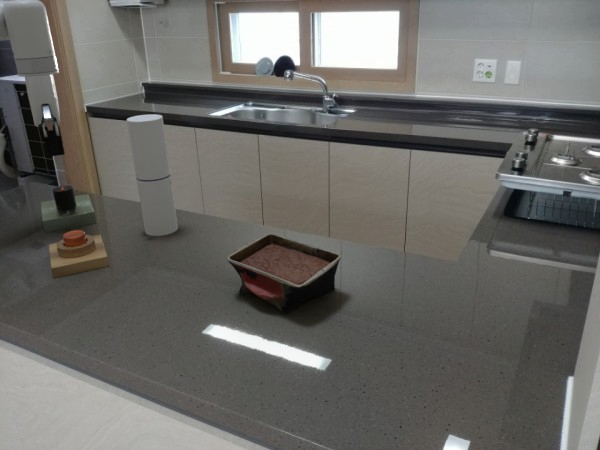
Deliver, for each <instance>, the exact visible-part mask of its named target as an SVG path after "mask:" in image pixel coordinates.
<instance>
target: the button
mask: <svg viewBox="0 0 600 450" xmlns="http://www.w3.org/2000/svg"><path fill="white" fill-rule="evenodd" d="M85 235H86V232H85V231H84V230H81V229H80V230H79V229H76V230H71V231H68V232H65V233H64V234H63V235H62V239H63V240H64V244H65V246H66V247H75V246H80V245H82V244H85V243H86V237H85Z"/></svg>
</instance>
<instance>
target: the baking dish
mask: <svg viewBox="0 0 600 450" xmlns="http://www.w3.org/2000/svg"><path fill="white" fill-rule="evenodd" d="M341 258H342V254H341V253H339V252H336V251H332V250H328V249H325V248H322V247H318V246H316V245H313V244H310V243H307V242H304V241H303V242H302V241H300V240H296V239H292V238H289V237H285V236H282V235H280V234H276V233H266V234H264V235H261V236H259V237H257V238H254V239H253V240H251V241H249V242H247V243H246V244H244V245H242V246H241V247H239V248H237V249H235V250H233V251H232V252H231V253H230V254H228V256H227V257H226V259H227V262H228V263H229V264H230V265H231V266H232V267H233V269H234V270H235V271H236V273H237V274H238V276H239V278H240V280H241V286H240V289H239V291H238V295H239V296H240V295H242V294H243V293H244V292H245V291H247V290H248V291H249V292H250V293H252V294H253V295H254V296H256V297H258V298H261V299H262V300H264V301H266V302H267V303H269V304H271V305H273V306H275V307H276V308H277V309H279V311H281V313H283V314H284V315H286V314H287V313H289V312H290V311H291V310H293V309H294V308H295V307H297V306H298V305H299V304H300V303H302V302H303V301H304V300H309V299H314V298H319V297H323V296H326V295H328V294H329V293H331V292H333V291H334V290H336V288H335V284H336V283H335V282H336V281H335V280H336V274H337V270H338V266H339V263H340V261H341Z"/></svg>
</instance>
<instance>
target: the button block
mask: <svg viewBox="0 0 600 450" xmlns="http://www.w3.org/2000/svg"><path fill="white" fill-rule="evenodd" d="M85 237H86V243H85V244H82V245H80V246H75V247H66V246H65V244H64V240H63V238H62V239H60V240H59V241H58V242H54V243H49V244H48V250H49V259H50V260H49V261H50V268H51V273H52V277H53V279H57V278H61V277H66V276H67V277H68V276H72V275H76V274H81V273H85V272H89V271H94V270H98V269H103V268H107V267H108V268H109V267H110V262H109V258H108V257H109V256H108V254H107V251H106V248H105V244H104V241H103V239H102V236H101V234H100V233H99V234H95V235H91V234H85Z"/></svg>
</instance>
